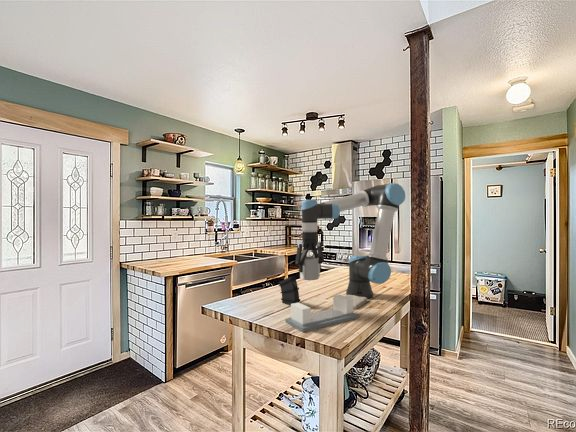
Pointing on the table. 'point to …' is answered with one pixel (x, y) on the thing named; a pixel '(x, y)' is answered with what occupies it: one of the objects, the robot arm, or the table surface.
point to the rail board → (321, 324)
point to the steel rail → (324, 316)
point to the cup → (311, 268)
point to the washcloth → (357, 300)
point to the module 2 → (343, 304)
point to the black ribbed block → (289, 291)
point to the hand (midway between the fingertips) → (310, 277)
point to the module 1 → (301, 313)
